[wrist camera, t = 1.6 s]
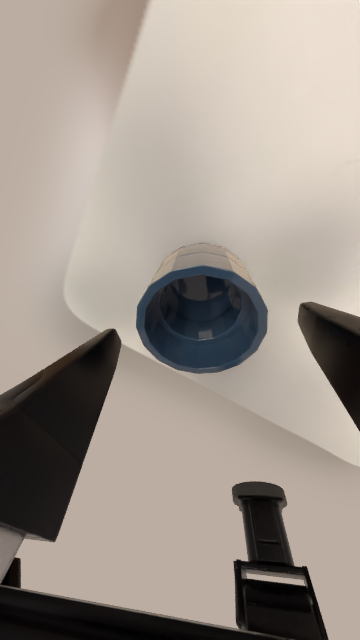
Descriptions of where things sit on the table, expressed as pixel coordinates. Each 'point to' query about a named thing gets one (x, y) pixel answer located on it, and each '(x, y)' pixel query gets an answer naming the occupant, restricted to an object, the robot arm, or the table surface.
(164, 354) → the bowl
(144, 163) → the table surface
